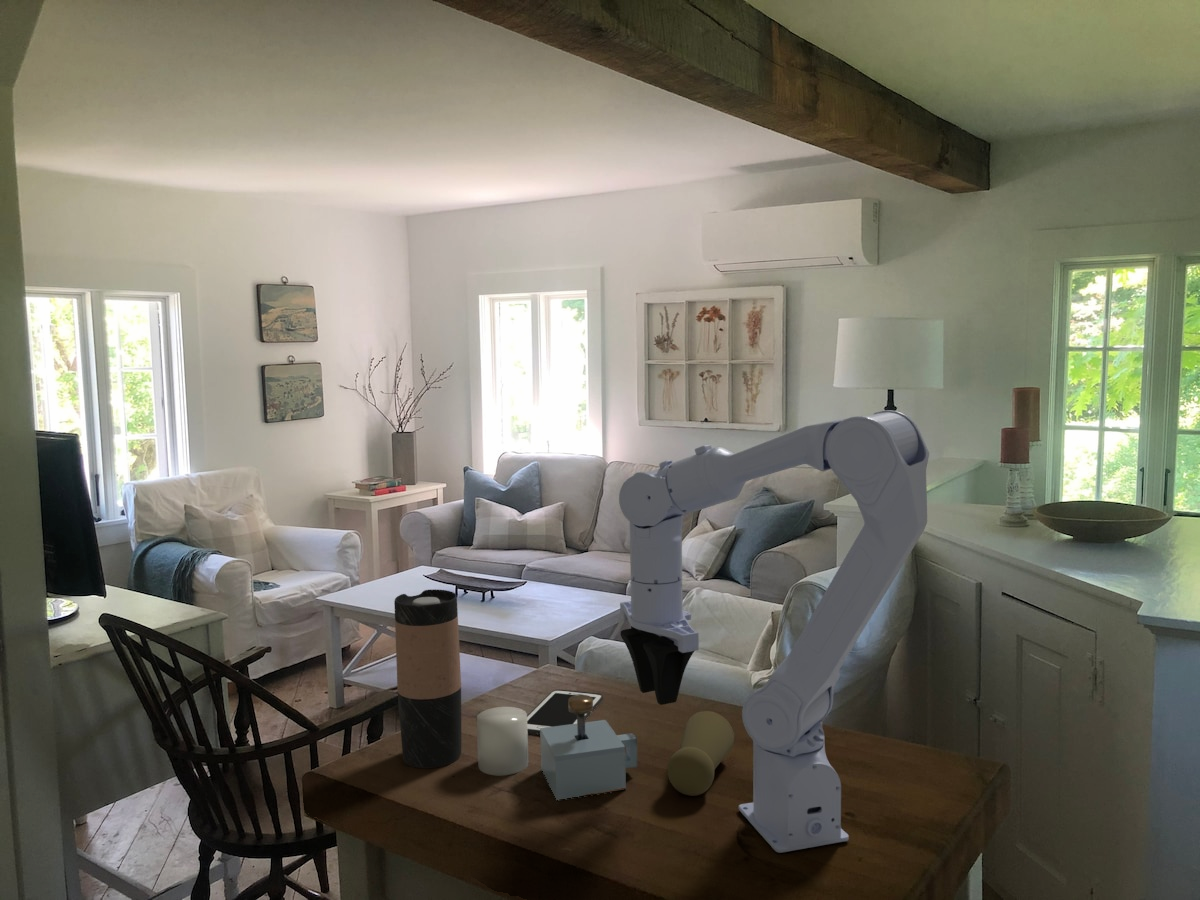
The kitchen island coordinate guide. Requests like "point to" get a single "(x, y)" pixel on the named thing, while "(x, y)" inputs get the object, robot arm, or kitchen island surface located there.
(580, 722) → the plunger
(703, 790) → the cork
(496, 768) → the white pillar candle
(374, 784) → the kitchen island surface
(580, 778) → the blue box with knob
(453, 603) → the travel mug
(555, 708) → the cell phone
